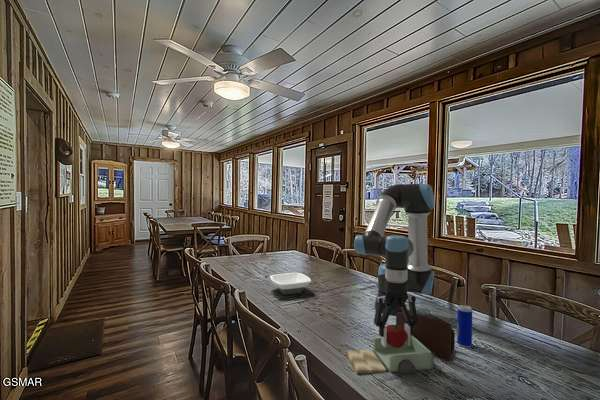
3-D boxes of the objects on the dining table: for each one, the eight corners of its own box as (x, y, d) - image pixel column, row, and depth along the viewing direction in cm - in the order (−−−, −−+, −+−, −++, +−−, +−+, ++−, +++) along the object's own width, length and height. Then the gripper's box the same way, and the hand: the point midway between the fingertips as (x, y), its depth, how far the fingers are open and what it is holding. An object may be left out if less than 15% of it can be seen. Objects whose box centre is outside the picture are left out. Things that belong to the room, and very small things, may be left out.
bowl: (314, 295, 176) (314, 281, 175) (277, 300, 167) (277, 285, 167) (300, 284, 196) (300, 271, 196) (266, 288, 188) (266, 275, 187)
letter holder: (450, 362, 107) (451, 322, 106) (395, 345, 118) (395, 310, 118) (454, 350, 115) (455, 313, 114) (402, 335, 126) (402, 302, 126)
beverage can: (458, 340, 122) (459, 303, 122) (472, 344, 119) (473, 306, 119) (455, 344, 118) (456, 307, 118) (470, 349, 115) (471, 310, 115)
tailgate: (373, 352, 111) (345, 353, 110) (373, 349, 111) (345, 350, 109) (388, 373, 99) (357, 373, 97) (389, 369, 99) (357, 370, 97)
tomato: (406, 341, 108) (406, 321, 108) (407, 352, 101) (408, 331, 100) (383, 338, 110) (383, 319, 110) (383, 349, 103) (383, 328, 103)
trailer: (371, 350, 114) (371, 334, 114) (408, 347, 116) (409, 332, 116) (393, 379, 96) (393, 360, 96) (436, 375, 98) (436, 357, 98)
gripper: (372, 284, 100) (371, 352, 100) (429, 282, 103) (429, 347, 103) (364, 278, 107) (363, 341, 108) (418, 276, 110) (417, 337, 111)
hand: (395, 344), depth 106 cm, fingers closed on tomato, 8 cm apart
